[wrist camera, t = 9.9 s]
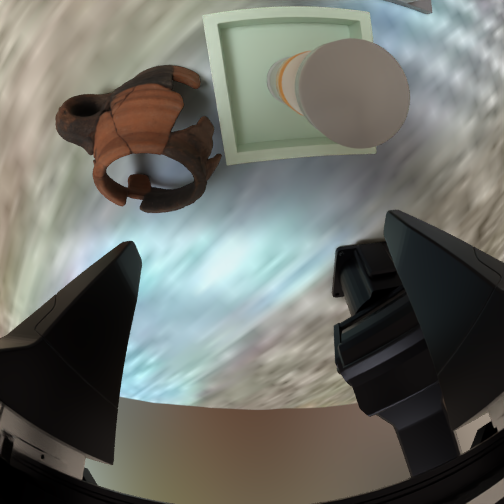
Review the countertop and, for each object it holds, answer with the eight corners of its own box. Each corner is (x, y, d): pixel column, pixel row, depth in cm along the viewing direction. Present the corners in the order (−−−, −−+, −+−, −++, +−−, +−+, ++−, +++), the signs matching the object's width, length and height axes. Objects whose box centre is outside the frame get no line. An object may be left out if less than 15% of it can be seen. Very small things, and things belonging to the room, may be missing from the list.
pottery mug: (242, 75, 17) (247, 153, 14) (197, 153, 25) (192, 230, 21) (85, 40, 12) (26, 112, 8) (76, 130, 19) (46, 207, 16)
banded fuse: (325, 92, 17) (422, 126, 7) (281, 112, 18) (333, 166, 8) (302, 49, 15) (383, 26, 5) (256, 70, 16) (279, 63, 6)
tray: (361, 143, 20) (376, 153, 17) (228, 154, 20) (226, 165, 18) (354, 18, 13) (369, 12, 11) (207, 23, 14) (202, 15, 12)
